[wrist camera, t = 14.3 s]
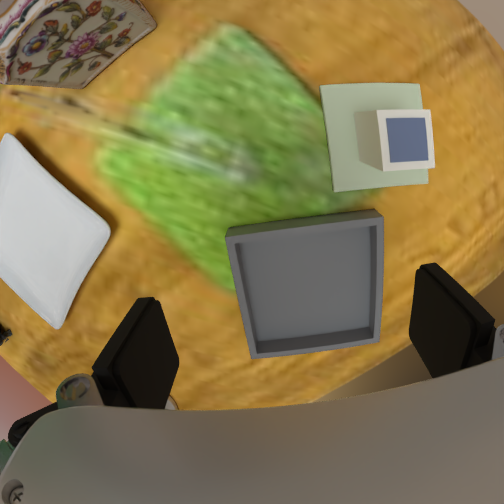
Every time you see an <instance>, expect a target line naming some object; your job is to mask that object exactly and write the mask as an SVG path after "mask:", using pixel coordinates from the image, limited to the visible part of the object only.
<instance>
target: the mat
mask: <svg viewBox="0 0 504 504" xmlns="http://www.w3.org/2000/svg"><path fill="white" fill-rule="evenodd" d="M319 90H320V96H321V102H322V108H323V114H324V121H325V128H326V135H327V143H328V150H329V158H330V167H331V176H332V185H333V191H334V192H341V191H351V190H360V189H370V188H380V187H391V186H402V185H414V184H427V183H428V168H426V169H411V170H397V171H385V172H383V171H381V170H378V169H376V168H374V167H372V166H369V165H367V164H365V163H362V162H360V160H359V150H358V142H357V134H356V126H355V119H354V113H357V112H364V111H372V110H396V109H422V110H423V106H422V98H421V91H420V85H419V84H410V83H354V84H333V85H320V86H319Z"/></svg>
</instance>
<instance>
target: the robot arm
mask: <svg viewBox="0 0 504 504" xmlns="http://www.w3.org/2000/svg"><path fill="white" fill-rule="evenodd" d="M494 322H495V319H494V318H493V317H492V316H491V315H490V314H489V313H488V312H487V311H486V310H485V309H484V308H483V307H482V306H481V305H480V304H479V303H478V302H477V301H476V300H475V299H474V298H473V297H472V296H471V295H470V294H469V293H468V292H467V291H466V290H465V289H464V288H463V287H462V286H461V285H460V284H459V283H457V282H456V281H455V280H454V279H453V278H452V277H451V276H450V275H449V274H448V273H447V272H446V271H444V270H443V269H442V268H441V267H440V266H439V265H438V264H437V263H429V264H423V265H421V266H420V268H419V269H417V270H416V274H415V285H414V295H413V303H412V311H411V319H410V326H409V337H410V340H411V341H412V343H413V345H414V346H415V348H416V350H417V351H418V353H419V355H420V357H421V358H422V360H423V362H424V364H425V365H426V367H427V369H428V370H429V372H430V374H431V376H432V378H433V379H429V380H425V381H421V382H418V383H414V384H410V385H406V386H402V387H397V388H393V389H389V390H384V391H379V392H374V393H369V394H364V395H359V396H353V397H348V398H342V399H335V400H329V401H322V402H314V403H306V404H298V405H288V406H278V407H266V408H250V409H228V410H178V408H177V405H176V403H175V402H174V400H173V399H172V398H171V397H170V396H169V394H170V391H171V388H172V385H173V382H174V379H175V376H176V373H177V370H178V367H179V357H178V354H177V351H176V349H175V346H174V343H173V340H172V337H171V334H170V331H169V328H168V325H167V322H166V319H165V316H164V313H163V310H162V307H161V304H160V302H159V301H158V300H155V298H154V297H145V298H138V299H137V300H136V302H135V303H134V304H133V306H132V307H131V309H130V310H129V312H128V313H127V315H126V316H125V317H124V319H123V320H122V322H121V323H120V325H119V326H118V328H117V329H116V331H115V332H114V334H113V335H112V337H111V338H110V340H109V341H108V343H107V344H106V346H105V347H104V349H103V350H102V352H101V353H100V355H99V357H98V358H97V360H96V361H95V363H94V364H93V366H92V369H93V371H94V372H93V374H92V375H91V376H90V375H88V374H76V375H72V376H70V377H68V378H66V379H65V380H64V381H63V382H61V384H60V385H59V386H58V388H57V391H56V399H57V402H55V403H53V404H51V405H49V406H47V407H44V408H42V409H40V410H38V411H36V412H34V413H32V414H30V415H27V416H25V417H23V418H21V419H19V420H17V421H15V422H14V424H13V425H12V427H11V428H10V430H9V433H8V439H9V441H7V442H6V440H5V439H3V440H2V441H0V504H504V324H503V325H501V326H499V327H498V328H497V329H496V328H495V327H494Z"/></svg>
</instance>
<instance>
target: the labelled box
mask: <svg viewBox="0 0 504 504" xmlns="http://www.w3.org/2000/svg"><path fill="white" fill-rule="evenodd" d="M354 119H355V126H356V134H357V142H358V150H359V160H360V162H362V163H365V164H367V165H369V166H372V167H374V168H376V169H378V170H381V171H383V172H385V171H397V170H411V169H426V168H435V160H434V144H433V132H432V122H431V113H430V110H422V109H396V110H372V111H364V112H357V113H354Z"/></svg>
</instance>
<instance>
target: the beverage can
mask: <svg viewBox="0 0 504 504" xmlns="http://www.w3.org/2000/svg"><path fill="white" fill-rule="evenodd" d="M0 330H1V329H0ZM11 335H12V332H11V331H10V329H9V331H7V332H4V333H3V335H2V334H1V332H0V345H2V344H3V342H2V341H3V340H4V339H6V338H7V337H8V336H11ZM8 340H9V339H8V338H7V340H6V341H8ZM6 341H5V342H6Z"/></svg>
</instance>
